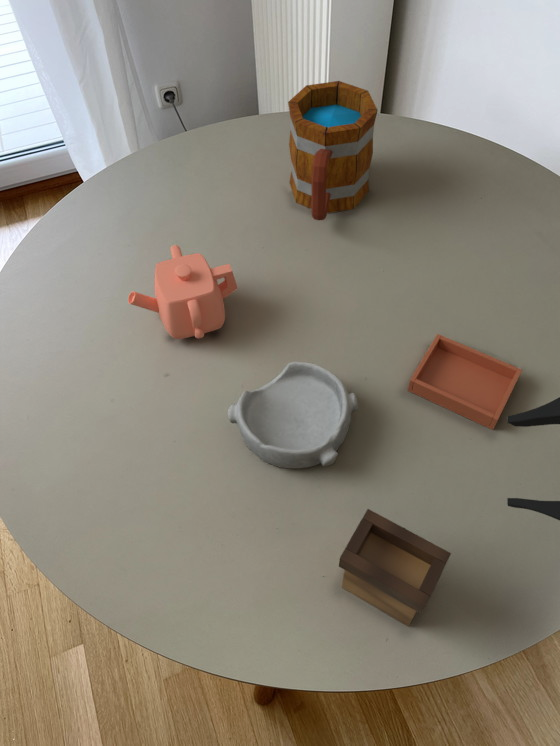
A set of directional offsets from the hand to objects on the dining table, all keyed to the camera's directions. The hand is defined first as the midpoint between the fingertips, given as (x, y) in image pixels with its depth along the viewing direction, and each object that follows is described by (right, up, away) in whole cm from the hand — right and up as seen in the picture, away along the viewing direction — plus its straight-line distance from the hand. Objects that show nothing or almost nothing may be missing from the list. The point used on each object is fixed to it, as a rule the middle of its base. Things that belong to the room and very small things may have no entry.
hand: (511, 461), depth 61 cm
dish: (-20, +1, +22) cm, 29 cm away
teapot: (-35, +17, +33) cm, 51 cm away
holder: (+2, +7, +25) cm, 26 cm away
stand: (-10, -15, +10) cm, 21 cm away
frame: (-10, -11, +4) cm, 15 cm away
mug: (-14, +37, +47) cm, 61 cm away
